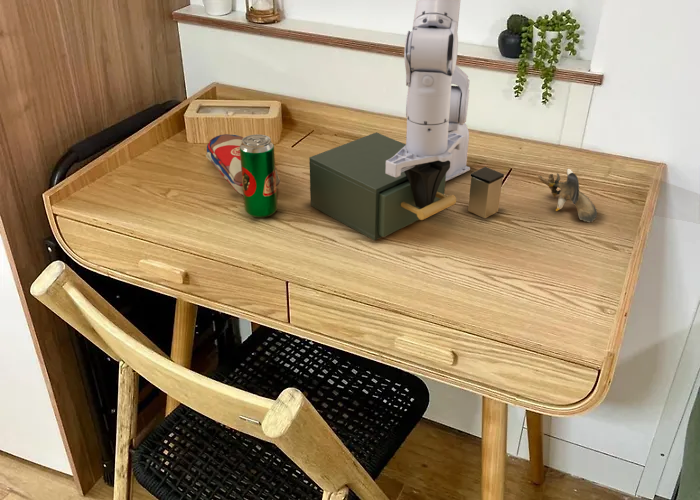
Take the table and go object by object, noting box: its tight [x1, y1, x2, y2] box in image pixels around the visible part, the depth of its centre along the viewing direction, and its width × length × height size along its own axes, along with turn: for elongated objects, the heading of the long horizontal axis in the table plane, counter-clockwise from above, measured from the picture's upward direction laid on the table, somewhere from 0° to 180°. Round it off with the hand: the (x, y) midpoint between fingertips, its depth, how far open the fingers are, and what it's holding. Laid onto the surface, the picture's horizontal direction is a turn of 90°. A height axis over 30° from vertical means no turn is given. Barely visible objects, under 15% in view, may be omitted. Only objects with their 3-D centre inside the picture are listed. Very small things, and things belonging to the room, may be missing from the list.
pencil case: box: [205, 133, 281, 197], centre depth 120 cm, size 11×20×5 cm, turn 14°
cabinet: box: [308, 132, 408, 241], centre depth 110 cm, size 14×14×8 cm
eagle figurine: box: [537, 168, 598, 223], centre depth 111 cm, size 8×7×9 cm
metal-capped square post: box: [467, 166, 505, 219], centre depth 110 cm, size 4×4×6 cm
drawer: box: [378, 174, 457, 238], centre depth 107 cm, size 18×13×7 cm
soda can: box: [240, 133, 278, 219], centre depth 108 cm, size 5×5×12 cm
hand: (423, 206), depth 104 cm, fingers closed, pressing on drawer
